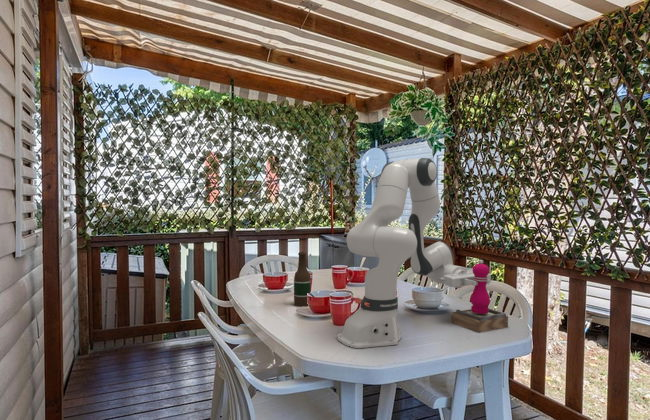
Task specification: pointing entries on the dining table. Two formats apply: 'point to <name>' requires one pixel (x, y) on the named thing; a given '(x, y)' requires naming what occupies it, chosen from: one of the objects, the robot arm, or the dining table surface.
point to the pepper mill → (480, 289)
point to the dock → (480, 320)
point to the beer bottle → (301, 282)
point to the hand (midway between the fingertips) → (482, 282)
